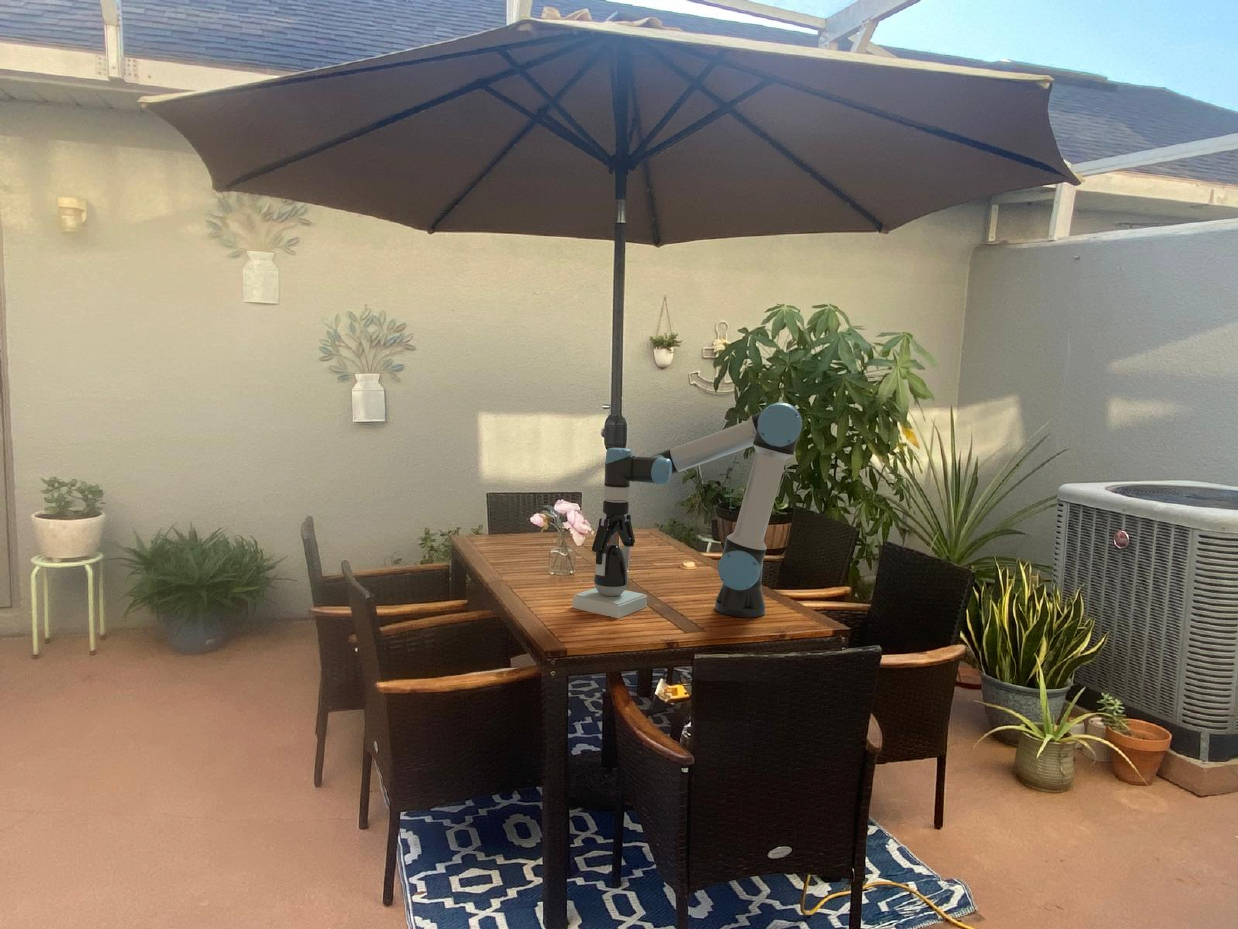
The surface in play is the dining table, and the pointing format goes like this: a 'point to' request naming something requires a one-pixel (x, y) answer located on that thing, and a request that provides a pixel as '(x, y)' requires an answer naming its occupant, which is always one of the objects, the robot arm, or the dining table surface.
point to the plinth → (610, 603)
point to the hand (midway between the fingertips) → (612, 571)
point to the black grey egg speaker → (612, 573)
